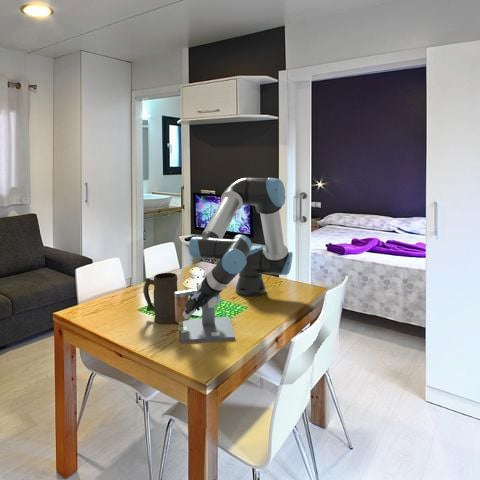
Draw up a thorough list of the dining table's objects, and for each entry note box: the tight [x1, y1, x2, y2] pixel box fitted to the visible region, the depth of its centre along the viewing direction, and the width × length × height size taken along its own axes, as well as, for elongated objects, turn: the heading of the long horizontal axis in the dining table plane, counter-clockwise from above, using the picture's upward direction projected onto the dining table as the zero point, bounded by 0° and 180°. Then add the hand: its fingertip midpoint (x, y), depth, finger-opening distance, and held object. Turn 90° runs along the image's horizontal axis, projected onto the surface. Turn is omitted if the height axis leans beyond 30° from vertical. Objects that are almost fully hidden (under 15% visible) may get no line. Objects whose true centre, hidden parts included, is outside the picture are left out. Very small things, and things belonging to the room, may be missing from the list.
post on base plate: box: [178, 302, 236, 344], centre depth 161 cm, size 21×20×13 cm
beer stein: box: [143, 272, 179, 325], centre depth 172 cm, size 15×10×20 cm
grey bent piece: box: [175, 282, 221, 323], centre depth 162 cm, size 18×9×13 cm, turn 117°
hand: (185, 316), depth 158 cm, fingers closed
